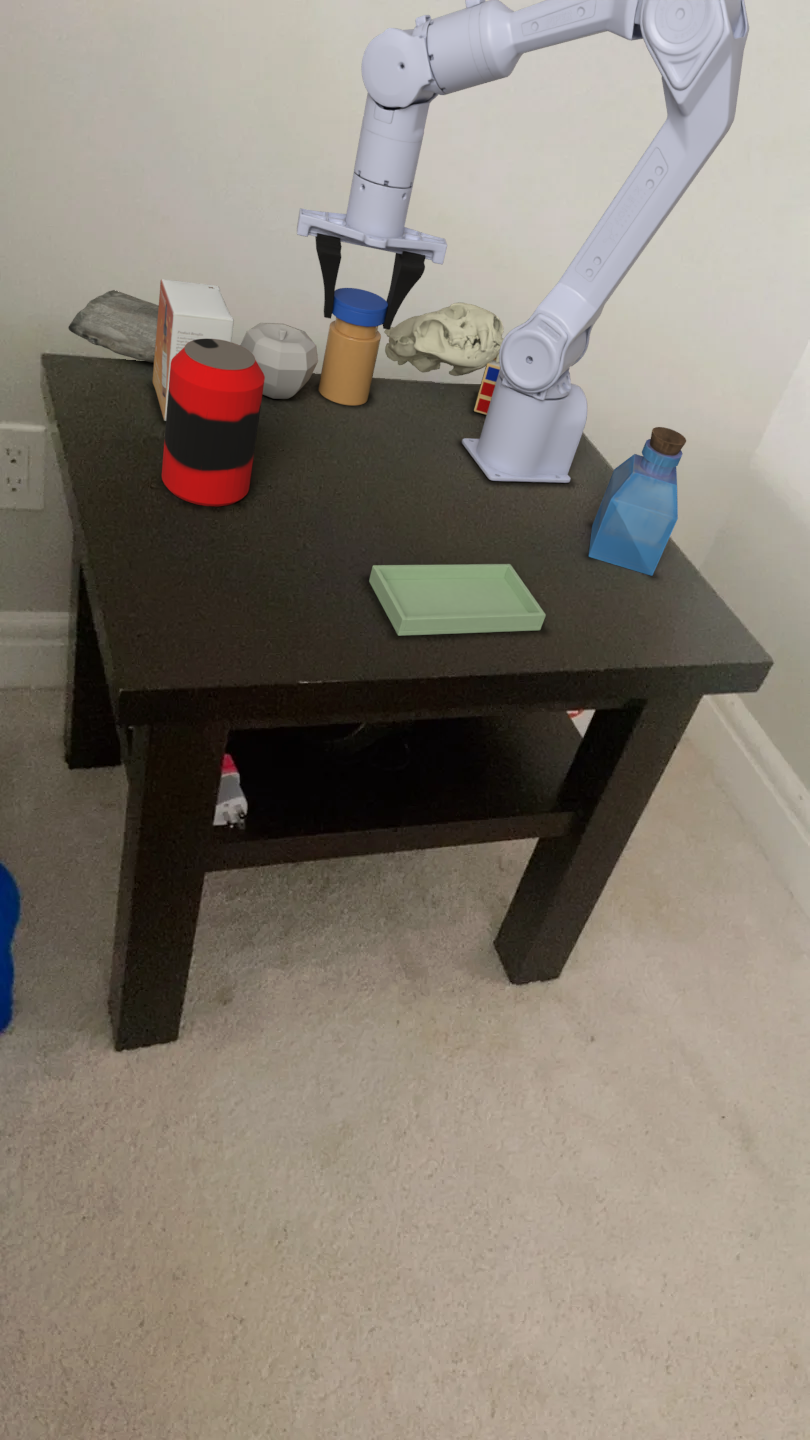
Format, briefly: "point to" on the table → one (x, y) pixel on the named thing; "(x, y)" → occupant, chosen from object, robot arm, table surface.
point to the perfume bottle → (640, 505)
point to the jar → (349, 362)
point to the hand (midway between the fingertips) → (356, 320)
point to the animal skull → (447, 339)
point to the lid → (359, 307)
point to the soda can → (211, 422)
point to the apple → (282, 357)
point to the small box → (186, 325)
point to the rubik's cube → (487, 387)
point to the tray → (455, 599)
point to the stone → (119, 325)
